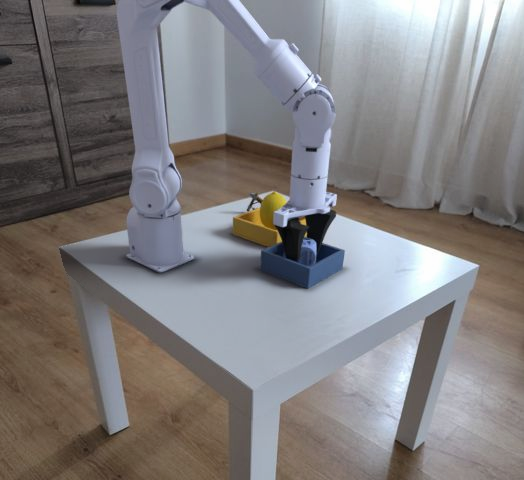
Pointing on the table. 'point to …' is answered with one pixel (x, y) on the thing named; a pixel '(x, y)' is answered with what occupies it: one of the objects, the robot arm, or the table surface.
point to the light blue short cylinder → (308, 252)
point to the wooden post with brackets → (255, 198)
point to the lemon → (270, 208)
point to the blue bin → (300, 274)
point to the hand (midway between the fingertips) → (302, 256)
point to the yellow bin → (257, 228)
